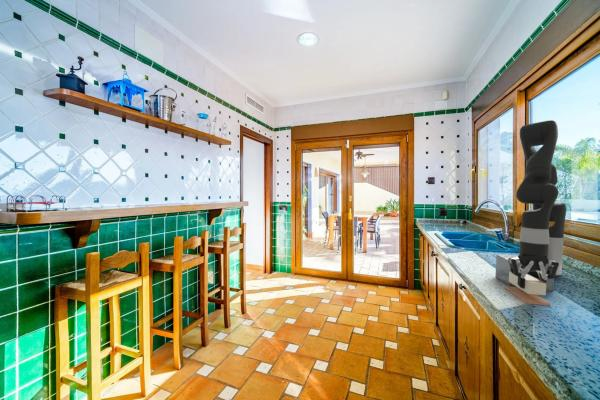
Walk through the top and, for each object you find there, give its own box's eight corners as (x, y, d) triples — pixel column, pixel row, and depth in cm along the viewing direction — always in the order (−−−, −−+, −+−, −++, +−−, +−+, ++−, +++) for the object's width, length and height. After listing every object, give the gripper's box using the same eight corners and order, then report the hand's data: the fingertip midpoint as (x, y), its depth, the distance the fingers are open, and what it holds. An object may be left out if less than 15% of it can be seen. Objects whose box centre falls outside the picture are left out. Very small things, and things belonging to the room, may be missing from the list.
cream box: (508, 281, 100) (509, 271, 100) (523, 282, 99) (524, 272, 98) (528, 293, 88) (529, 282, 88) (545, 295, 87) (546, 283, 87)
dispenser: (495, 276, 114) (496, 254, 114) (534, 280, 110) (535, 256, 110) (510, 287, 102) (511, 262, 101) (554, 291, 98) (555, 265, 98)
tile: (505, 288, 101) (505, 286, 101) (526, 290, 99) (526, 288, 99) (525, 303, 88) (525, 300, 88) (550, 305, 86) (550, 303, 86)
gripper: (551, 240, 91) (549, 287, 92) (504, 237, 95) (502, 282, 96) (567, 244, 84) (564, 295, 85) (515, 241, 88) (512, 290, 89)
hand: (531, 288), depth 90 cm, fingers closed on cream box, 5 cm apart
